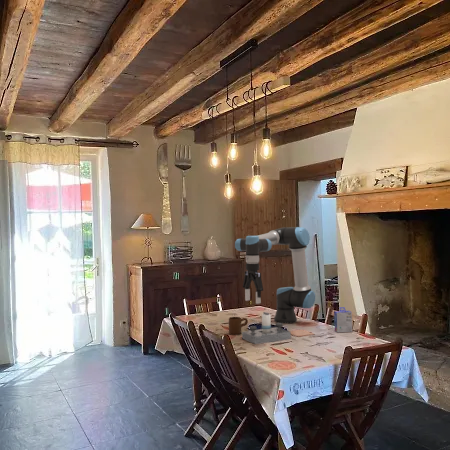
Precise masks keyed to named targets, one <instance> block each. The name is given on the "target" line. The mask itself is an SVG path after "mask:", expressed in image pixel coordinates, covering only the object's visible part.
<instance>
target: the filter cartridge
mask: <svg viewBox="0 0 450 450" xmlns="http://www.w3.org/2000/svg"><path fill="white" fill-rule="evenodd" d="M271 318H272V317H271V314H270V313H269V312H267V311H263V312H262V314H261V329H262V333H264V334H266V333H271V328H272V325H271V321H272V319H271Z"/></svg>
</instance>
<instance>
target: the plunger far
mask: <svg viewBox="0 0 450 450" xmlns="http://www.w3.org/2000/svg"><path fill="white" fill-rule="evenodd" d="M283 326H284V323H278V322H275V327H278V331H281V329H282V327H283Z"/></svg>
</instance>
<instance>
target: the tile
mask: <svg viewBox="0 0 450 450" xmlns="http://www.w3.org/2000/svg"><path fill="white" fill-rule="evenodd" d="M290 332H291V336H293V337H296V338H301V337H308V336H314V335H315V333H314V332H311V331H308V330H304V329H298V330H297V329H296V330H290Z"/></svg>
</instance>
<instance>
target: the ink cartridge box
mask: <svg viewBox="0 0 450 450" xmlns="http://www.w3.org/2000/svg"><path fill="white" fill-rule="evenodd" d="M338 308H339V310H338V311H337V310H336V311H333V315H334V317H333V319H334V331H335V332H336V333H352V332H353V312H352V311H351V310H346V307H345V306H342V307H338Z"/></svg>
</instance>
